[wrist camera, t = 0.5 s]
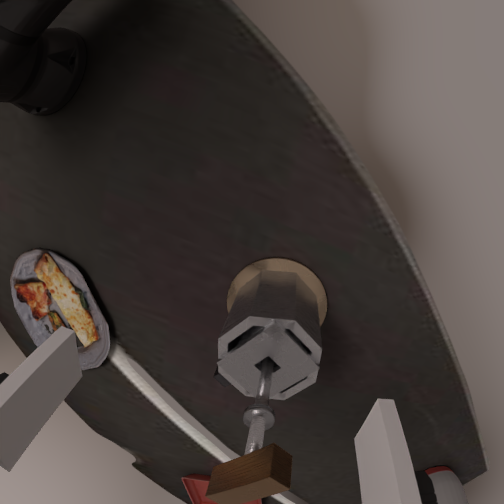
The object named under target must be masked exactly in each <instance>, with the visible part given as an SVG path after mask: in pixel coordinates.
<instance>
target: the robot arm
mask: <svg viewBox="0 0 504 504" xmlns="http://www.w3.org/2000/svg"><path fill="white" fill-rule="evenodd" d="M71 1H72V0H0V102H10V103H12V104H14V105H15V106H17V107H19V108H20V109H22V110H24V111H26V112H28V113H30V114H34V115H48V114H52V113H54V112H56V111H58V110H59V109H61V108H62V107H63V106H64V105H65V104H66V103H67V102H68V101H69V100H70V99H71V98H72V96H73V95H74V93H75V92H76V90H77V88H78V87H79V85H80V82H81V80H82V78H83V75H84V71H85V67H86V59H87V53H86V47H85V43H84V41H83V39H82V38H81V37H80V35H78V34H77V33H75V32H73V31H71V30H68V29H65V28H49V29H46V28H47V27H48V26H49V25H50V24H51V23H52V21H53V20H54V19H55V18H56V17H57V16H58V15H59V14H60V13H61V12H62V10H63V9H64V8H65V7H66V6H67V5H68V4H69V3H70V2H71ZM81 377H82V373H81V368H80V362H79V356H78V350H77V344H76V337H75V331H73V330H71V329H68V328H65V327H63V326H61V327H60V328H59V329H58V330H56V331H55V332H54V333H53V334H52V335H51V336H50V337H49V338H48V339H47V340H46V341H45V342H43V343H42V344H41V345H40V346H39V347H38V348H37V349H36V350H35V351H34V352H33V353H32V354H31V355H30V356H29V357H28V358H27V359H26V360H25V361H23V362H22V363H21V364H20V366H18V367H17V368H16V369H15V370H14V371H13V372H12V373H11V374H10V375H8V374H6V373H2V374H0V466H2V467H3V468H4V469H6V470H7V471H8V472H10V471H11V469H12V468H13V466H14V465H15V463H16V462H17V461H18V459H19V458H20V457H21V455H22V454H23V452H24V451H25V450H26V448H27V447H28V446H29V444H30V443H31V442H32V440H33V439H34V438H35V436H36V435H37V434H38V432H39V431H40V430H41V428H42V427H43V426H44V424H45V423H46V422H47V421H48V419H49V418H50V417H51V415H52V414H53V413H54V411H55V410H56V409H57V408H58V406H59V405H60V404H61V402H62V401H63V400H64V399H65V397H66V396H67V395H68V394H69V392H70V391H71V390H72V389H73V387H74V386H75V385H76V384H77V382H78V381H79V380H80V379H81ZM354 441H355V448H356V456H357V463H358V471H359V479H360V488H361V497H362V504H438V502H437V497H436V494H435V490H434V486H433V482H432V480H431V478H430V477H429V476H428V474H427V473H426V472H425V471H416V472H414V469H413V465H412V462H411V458H410V454H409V450H408V447H407V443H406V440H405V436H404V433H403V429H402V426H401V422H400V419H399V416H398V413H397V409H396V406H395V403H394V400H390V399H377V401H376V402H375V404H374V406H373V408H372V410H371V411H370V413H369V415H368V417H367V418H366V420H365V422H364V423H363V425H362V427H361V429H360V430H359V432H358V433H357V435H356V437H355V438H354Z"/></svg>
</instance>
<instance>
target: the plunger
mask: <svg viewBox="0 0 504 504" xmlns="http://www.w3.org/2000/svg"><path fill="white" fill-rule="evenodd" d="M262 328H264V327H263V326H252V327H250V328H249V329H248V330H246V331H245V332H244V333H243V334H242V336H241V338H240V341H239V344H241V343H242V342H244V341H245V340H246V339H248V338H249V337H251V336H252V335H254V334H255V333H256V332H258V331H259V330H261V329H262ZM286 330H287V331H288V332H289V333H290V334H291V335H292V336H293V337H294V338H295V339H296V340H297V341H298V342H299V343H300V344H301V345H302V342H301V340H300V339H299V338H298V337H297V336H296V335H295V334H294V333H293V332H292V331H291V330H290V329H286ZM258 364H259V365H260V366H261V373H260V378H259V383H258V389H257V394H256V399H255V404H253V405H250V406H248V407H247V408H246V409H245V412H244V417H243V421H244V423H245V425H246V426H248V427H249V428H250V430H249V435H248V440H247V445H246V450H245V455H244V456H241V457H239V458H236V459H233V460H231V461H228V462H225V463H223V464H220V465H217V466H214V467H213V471H212V474H211V478H210V481H209V485H208V488H207V491H206V495H205V497H207V498H209V499H211V500H212V501H214V502H216V503H218V504H242V503H246V502H250V501H253V500H257V499H261V498H264V497H267V496H271V495H274V494H277V493H280V492H283V491H287V490H290V484H291V470H292V455H290V454H289V453H288V452H286V451H285V450H283V449H282V448H281V447H279V446H278V445H276V444H275V443H273V444H270V445H268V446H266V447H263V448H262V444H263V438H264V431H265V430H267V429H269V428H271V427H272V426H273V425H274V421H275V412H274V410H273V409H272V408H271V407H269V406H268V404H269V397H270V389H271V382H272V375H273V369H274V368H275V367H277V366H279V365H278V364H277V363H276V362H275V361H274V360H273V359H271V358H270V357H269V356H267V357H266V358H264V359H263V360H261V361H260V362H258Z"/></svg>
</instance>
